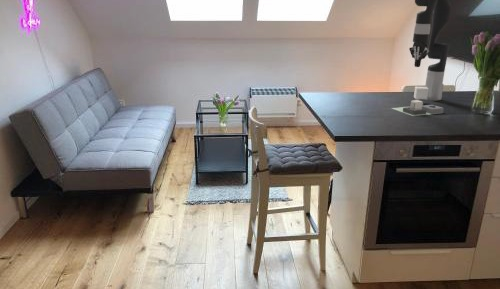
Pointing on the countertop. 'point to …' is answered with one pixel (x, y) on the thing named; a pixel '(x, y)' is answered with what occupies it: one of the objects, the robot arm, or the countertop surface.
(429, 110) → the circuit board
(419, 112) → the header socket
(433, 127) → the countertop surface
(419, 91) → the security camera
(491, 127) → the countertop surface
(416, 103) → the plug
